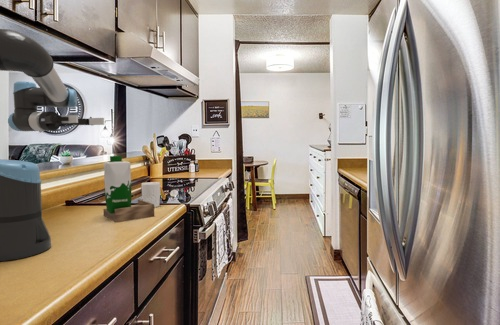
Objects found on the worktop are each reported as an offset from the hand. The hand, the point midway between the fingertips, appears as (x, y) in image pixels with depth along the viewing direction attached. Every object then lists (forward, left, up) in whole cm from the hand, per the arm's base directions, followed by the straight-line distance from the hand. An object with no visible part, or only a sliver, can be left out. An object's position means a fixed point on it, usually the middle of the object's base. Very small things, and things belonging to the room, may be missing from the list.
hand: (91, 120), depth 122 cm
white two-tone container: (+5, -12, -34) cm, 36 cm away
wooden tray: (+9, -11, -36) cm, 39 cm away
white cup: (+23, +1, -36) cm, 43 cm away
